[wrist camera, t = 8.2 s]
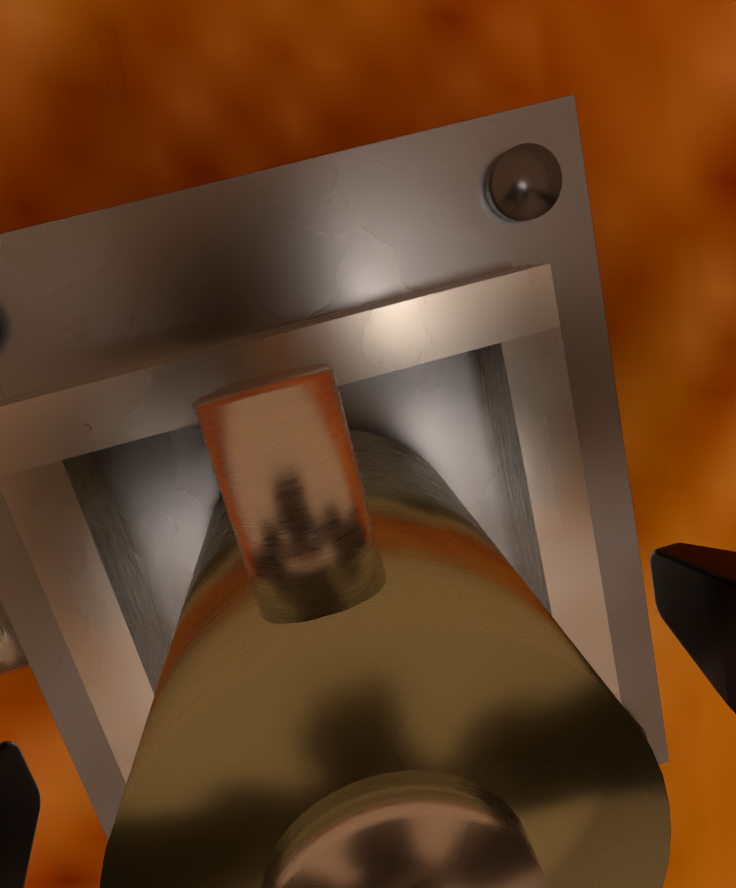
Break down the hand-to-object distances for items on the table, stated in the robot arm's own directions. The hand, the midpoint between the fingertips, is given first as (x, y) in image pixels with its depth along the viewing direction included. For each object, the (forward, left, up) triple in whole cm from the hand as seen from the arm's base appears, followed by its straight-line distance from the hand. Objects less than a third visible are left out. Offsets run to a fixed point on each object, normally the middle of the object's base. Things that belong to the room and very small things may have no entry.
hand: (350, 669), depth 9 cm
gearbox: (0, +1, -7) cm, 7 cm away
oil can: (0, 0, -4) cm, 4 cm away
